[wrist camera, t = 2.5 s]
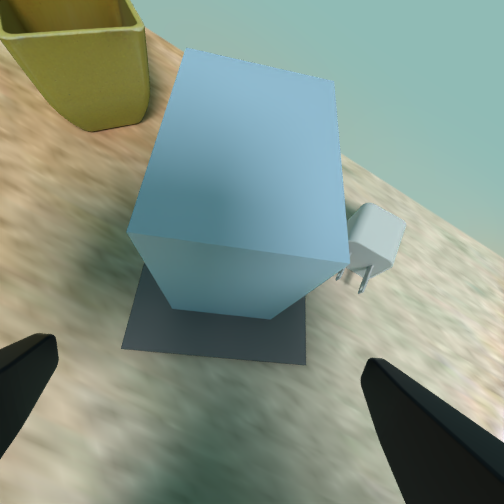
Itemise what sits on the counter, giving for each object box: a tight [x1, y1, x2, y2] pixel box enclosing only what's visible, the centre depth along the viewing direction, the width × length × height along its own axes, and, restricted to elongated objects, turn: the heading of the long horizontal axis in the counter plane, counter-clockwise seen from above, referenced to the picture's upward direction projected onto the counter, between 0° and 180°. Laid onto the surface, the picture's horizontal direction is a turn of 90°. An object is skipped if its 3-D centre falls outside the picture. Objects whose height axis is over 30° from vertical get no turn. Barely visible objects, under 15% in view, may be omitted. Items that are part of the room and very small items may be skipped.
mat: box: [121, 262, 306, 365], centre depth 21 cm, size 16×13×1 cm
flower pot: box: [0, 0, 150, 131], centre depth 22 cm, size 9×9×9 cm
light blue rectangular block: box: [127, 48, 350, 320], centre depth 16 cm, size 10×7×12 cm
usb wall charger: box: [336, 203, 406, 294], centre depth 22 cm, size 4×7×4 cm, turn 150°
